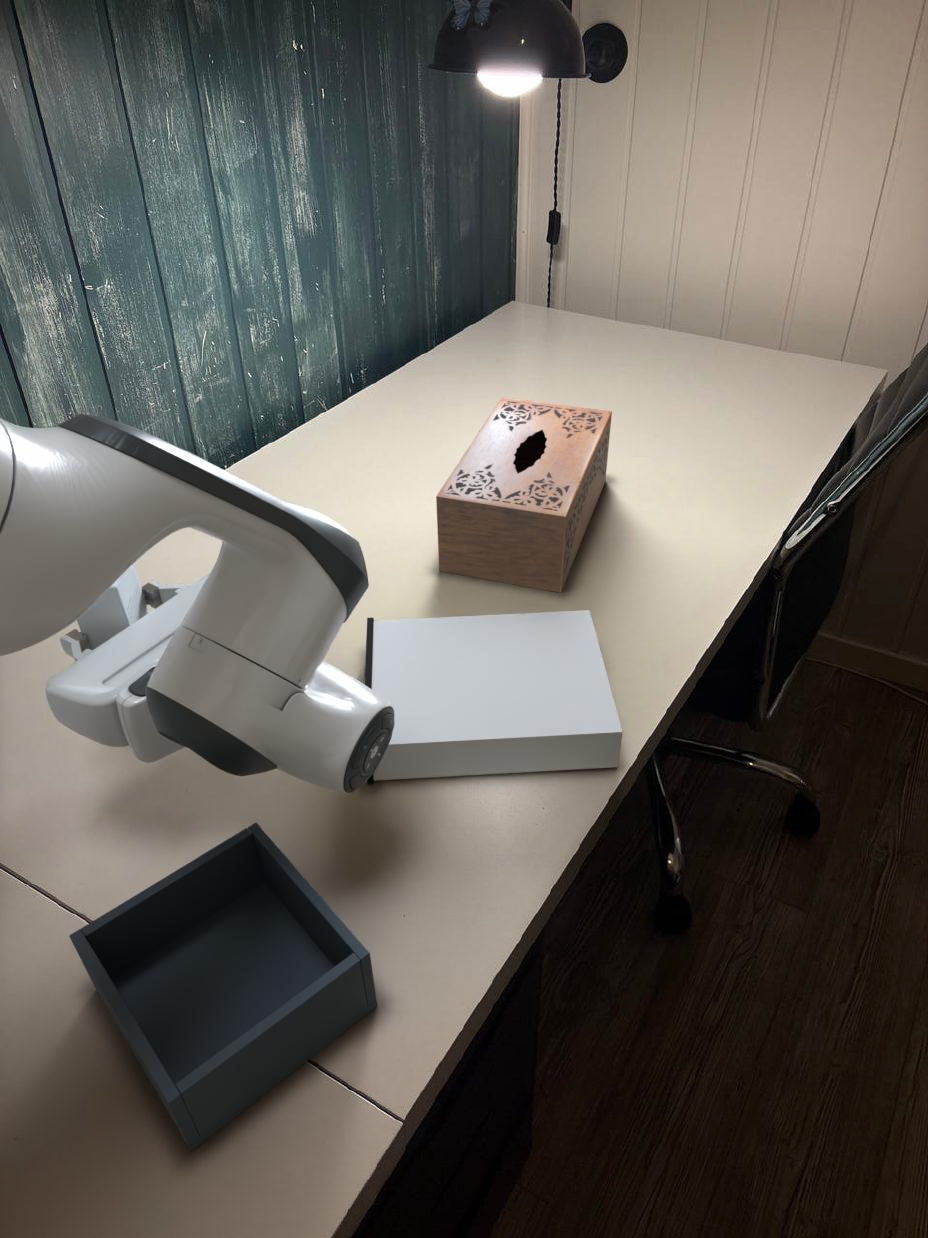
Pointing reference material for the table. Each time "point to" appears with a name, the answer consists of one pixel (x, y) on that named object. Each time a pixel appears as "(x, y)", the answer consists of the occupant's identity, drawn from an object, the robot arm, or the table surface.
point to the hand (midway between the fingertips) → (108, 614)
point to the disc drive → (492, 694)
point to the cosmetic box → (114, 609)
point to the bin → (226, 979)
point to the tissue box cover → (524, 494)
